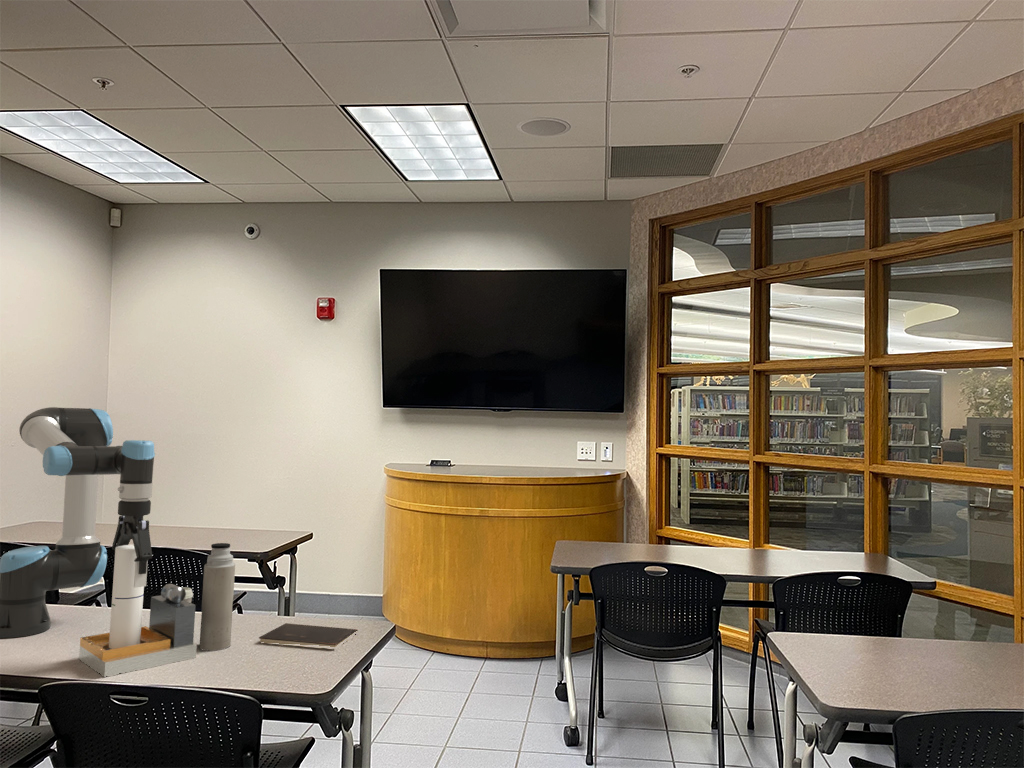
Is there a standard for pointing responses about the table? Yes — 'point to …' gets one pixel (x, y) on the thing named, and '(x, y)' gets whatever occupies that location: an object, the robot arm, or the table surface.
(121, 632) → the cylindrical container
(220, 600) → the thermos bottle
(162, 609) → the grey stand with tray
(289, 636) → the hardcover book
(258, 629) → the table surface
